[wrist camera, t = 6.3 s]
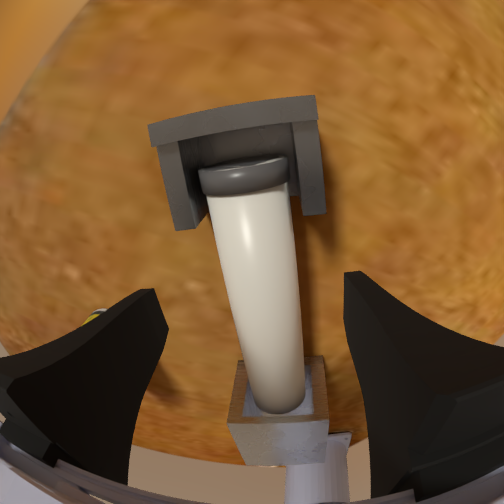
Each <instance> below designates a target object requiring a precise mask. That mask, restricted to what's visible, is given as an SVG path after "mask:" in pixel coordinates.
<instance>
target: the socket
mask: <svg viewBox="0 0 504 504" xmlns="http://www.w3.org/2000/svg"><path fill="white" fill-rule="evenodd" d="M317 120H318V113H317V106H316V99H315V95H308V96H296V97H286V98H277V99H269V100H262V101H255V102H248V103H242V104H236V105H230V106H225V107H220V108H214V109H210V110H205V111H200V112H196V113H191V114H187V115H183V116H179V117H175V118H171V119H167V120H163V121H160V122H156V123H153V124H149V125H148V131H149V136H150V141H151V146H152V147H155V146H157V152H158V156H159V161H160V166H161V171H162V175H163V180H164V184H165V189H166V193H167V198H168V202H169V206H170V210H171V214H172V218H173V222H174V226H175V230H176V231H180V230H187V229H195V228H196V227H197V226H198V225H199V223H200V222H201V221H202V220H203V218H204V217H205V216H206V214H207V213H208V212H209V206H208V201H207V196H206V194H203V192H202V188H201V183H200V178H199V173H198V170H199V169H201V168H204V167H206V166H209V165H213V164H216V163H220V162H224V161H229V160H234V159H240V158H246V157H253V156H262V155H286V156H288V162H289V170H290V180H289V181H288V188H289V196H299V199H300V203H301V208H302V212H303V216H308V215H318V214H326V201H325V189H324V178H323V168H322V158H321V149H320V141H319V132H318V125H317Z"/></svg>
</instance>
